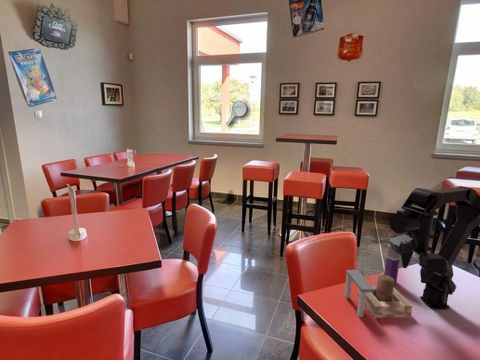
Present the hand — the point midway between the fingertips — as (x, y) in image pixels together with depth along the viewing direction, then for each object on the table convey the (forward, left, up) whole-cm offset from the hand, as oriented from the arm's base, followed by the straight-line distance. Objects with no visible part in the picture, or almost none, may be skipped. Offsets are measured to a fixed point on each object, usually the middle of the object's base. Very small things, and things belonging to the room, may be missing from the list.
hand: (413, 275), depth 93 cm
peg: (+7, -3, -12) cm, 14 cm away
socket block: (+7, -3, -13) cm, 15 cm away
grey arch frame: (+16, -3, -13) cm, 21 cm away
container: (-4, -18, -13) cm, 23 cm away
